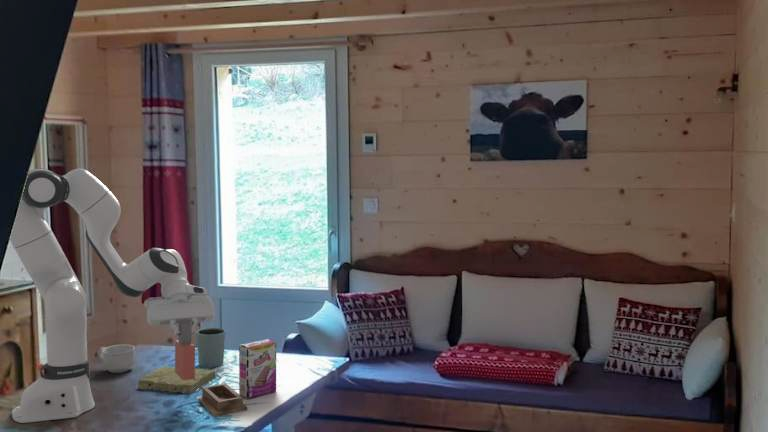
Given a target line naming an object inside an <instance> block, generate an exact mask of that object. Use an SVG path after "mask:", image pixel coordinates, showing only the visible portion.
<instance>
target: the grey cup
mask: <svg viewBox="0 0 768 432" xmlns="http://www.w3.org/2000/svg"><path fill="white" fill-rule="evenodd" d="M195 334H196V341H197V343H196V344H197V354H198V357H197V358H198V359H197V360H198V366H199V365H200V367H201V366H204V367H203V368H215V367H214V366H217V367H219V366H222V365H223V364H224V358H225V356H224V354H225V340H226V330H225V329H223V328H219V327H210V328H209V327H207V328H202V329H198V330H196V333H195Z"/></svg>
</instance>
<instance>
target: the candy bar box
mask: <svg viewBox="0 0 768 432" xmlns="http://www.w3.org/2000/svg"><path fill="white" fill-rule="evenodd" d="M238 360H239V361H238V365H239V367H238V368H239V369H238V371H239V372H238V377H239V378H238V380H239V382H238V383H239V386H238V387H239V389H238V390H239V393H238V394H239V395H240V396H242V397H243V399H246V400H249V399H253V398H256V397H261V396H264V395H268V394H272V393H275V392H276V391H277V341H275V340H272V339H268V338H267V339H263V340H262V339H261V340H256V341H252V342H247V343H241V344H239V345H238Z"/></svg>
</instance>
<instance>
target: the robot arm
mask: <svg viewBox="0 0 768 432" xmlns="http://www.w3.org/2000/svg"><path fill="white" fill-rule="evenodd" d="M28 172H29V174H28V178H27V181H26V185H25V189H24V192H23V195H22V199H21V202H20V206H19V210H18V213H17V217H16V220H15V224H14V227H13V231H12V234H11V238H10V239H9V241H10V243H11V245H12V247H13V249H14V250H15V252H16V254H17V256H18V258H19V259H20V262H21V263H22V265H23V266H24V267H23V268H25V270H26V272H27V275H28V276H29V277H30V279H31V281H32V282H33V283H34V286H35V287H36V288H37V290H38V292H39V293H40V296H41V297H42V300H43V302H44V307H45V343H46V362H45V363H42V362H39V363H38V364H37V365H36V368H37V370H38V372H39V376H40V377H38V378H37V379H36V380H35V381H34V382H33V383H31V384H30V385H28V386H27V388H25V389H24V390H23V392H22V393H21V397H20V400H19V401H20V402H19V405H18V406H16V407H14V408H13V409H12V411H11V418H12V419H13V421H15V422H17V423H20V424H25V423H34V422H35V423H36V422H43V421H52V420H63V419H70V418H71V419H72V418H77V417H79V416H81V415H82V414H83V413H86V412H88V411H90V410H92V409H93V408H95V405H96V403H95V400H94V397H93V393H92V390H91V385H90V384H91V383H90V376H91V369H90V368H91V367H90V366H91V365H90V360H89V358H88V342H87V329H88V328H87V325H88V323H87V322H88V321H87V319H88V318H87V317H88V315H87V314H88V313H87V312H88V310H87V309H88V305H87V301H88V300H87V293H86V292H85V290H84V288H83V286H82V284H81V283H80V280H79V278H78V277H77V275H76V273H75V271H74V270H73V268H72V266H71V264H70V262H69V260H68V257H67V256H66V254H65V252H64V251H63V248H62V246H61V245H60V244H59V242H58V239H57V238H56V235H55V234H54V232H53V230H52V228H51V226H50V225H49V223H48V220H47V218H46V215H45V211H46V209H47V208H50V207H53V206H55V205H58V204H60V203H62V202H65V203H67V204H68V205H69V206H70V207H72V209H74V211H75V212H77V214H78V215H79V217H81V219H82V220H83V222H84V224H85V226H86V230H85V236H86V239H87V241H88V243H89V245H90V246H91V248H92V249H93V251H94V252H95V253H96V255H97V257H98V258H99V260H100V261H101V263H102V264H103V265H104V266H105V268H106V270H107V272H108V273H109V274H110V277H111V278H112V280H113V282H114V284H115V286H116V288H117V289H118V291H119V292H120V294H122V295H124V296H127V297H132V298H137V297H140V296H141V295H143V294H144V293H145V292H146V291H147V290H148V289H149V288H151V287H153V286H154V285H155V284H157V283H159V284H160V285H161V287H160V292H161V296H157V297H148V298H147V299H145V300H144V302H143V305H144V309H145V310H146V322H147V324H148V325H149V326H151V327H156V326H157V327H158V326H169V328H170V329H171V330H172V331H173V332H174V336H177V337H178V336H179V335H181V329H180V328H179V327H177V324H178V325H179V323H183V322H189V323H191V324H192V334H191V335H195V334H197V333H196V332H197V330H196V325H197V323H204V322H205V323H206V322H212V321H213V320H214V319H215V316H216V309H215V306H214V304H213V301H212V299H211V297H209V296H208V289H207V288H205V287H202V286H201V287H200V286H196V285H192V284H190V282H189V280H188V272H187V269H186V265H185V262H184V259H183V257H182V256H181V254H180V253H179V251H176V250H175V249H171V248H169V249H167V248H166V249H164V248H159V247H151V248H150V249H148V250H147V251H145V252H143V253H142V254H141V255H139V257H137V258H135V259H134V260H132V261H131V262H129V263H126V262H124V260H123V259H122V258H121V256H120V255H119V253H118V252H117V250H116V249H115V247H114V246H113V244H112V243H111V234H112V232H113V230H114V228H115V226H116V225H117V224H118V222H119V220H120V216H121V214H122V213H121V211H122V209H121V204H120V201H119V200H118V199H117V197H116V196H115V195H114V194H113V192H112V191H111V190H110V189H109V188H108V187H107V186H106V185H105V184H104V183H103V182H102V181H101V180H99V179H98V178H97V177H96V176H95V175H93V173H91V172H90V171H88V170H87V169H84V168H82V167H81V168H74V169H72V170H70V171H68V172H67V173H66V174H64V175H61V174H57V173H55V172H53V171H51V170H49V169H46V168H41V167H39V168H33V169H30V170H28Z"/></svg>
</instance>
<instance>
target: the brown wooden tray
mask: <svg viewBox="0 0 768 432" xmlns="http://www.w3.org/2000/svg"><path fill="white" fill-rule="evenodd" d="M197 400H199V401H200V402H201V403H202V404H203V405H204V406H205V407H206V408H205V407H204V406H203V405H202V404H201V403H200V402H199V401H198V402H199V403H200V404H201V405H202V406H203V407H204V408H205V409H206V410H207V411H208V412H210V414H211V415H212V416H213V417H218V416H224V415H229V414H235V413H239V412H245V411H248V406H247V405H246V404H245V403H244V397H242V396H240V395H239V393H238V392H237V391H235V390H234V389H233V388H232V387H230V386H229V385H228V384H226V383H219V384H214V385H209V386H203V387H201V396H200V397H198V399H197Z"/></svg>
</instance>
